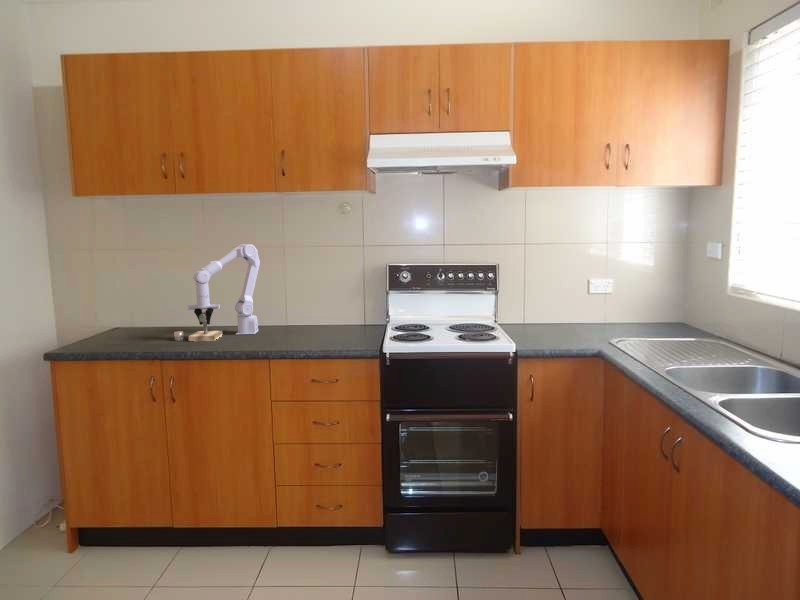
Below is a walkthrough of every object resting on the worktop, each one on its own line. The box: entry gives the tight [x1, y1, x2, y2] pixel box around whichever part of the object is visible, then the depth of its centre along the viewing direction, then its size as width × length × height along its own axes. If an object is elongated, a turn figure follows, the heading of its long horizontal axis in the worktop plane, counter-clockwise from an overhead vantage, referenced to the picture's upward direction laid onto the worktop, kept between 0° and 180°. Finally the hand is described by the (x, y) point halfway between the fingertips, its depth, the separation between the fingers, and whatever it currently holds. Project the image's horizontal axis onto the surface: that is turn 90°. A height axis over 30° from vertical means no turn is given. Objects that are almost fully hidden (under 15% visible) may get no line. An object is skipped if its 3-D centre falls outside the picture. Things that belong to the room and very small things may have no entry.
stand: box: [188, 330, 223, 342], centre depth 261 cm, size 12×12×2 cm
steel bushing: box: [173, 330, 185, 342], centre depth 259 cm, size 4×4×4 cm
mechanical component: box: [198, 310, 208, 334], centre depth 260 cm, size 3×10×10 cm, turn 6°
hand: (205, 324), depth 260 cm, fingers closed on mechanical component, 3 cm apart
